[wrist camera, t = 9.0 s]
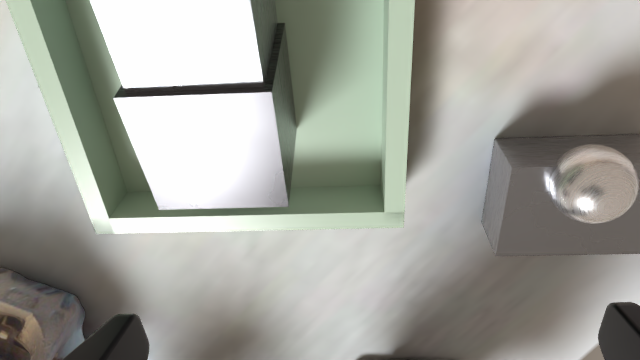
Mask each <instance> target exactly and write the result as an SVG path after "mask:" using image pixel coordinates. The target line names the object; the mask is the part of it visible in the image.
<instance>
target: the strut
mask: <svg viewBox="0 0 640 360" xmlns="http://www.w3.org/2000/svg"><path fill="white" fill-rule="evenodd" d="M90 2H91V4H92V7H93V10H94V12H95V15H96V17H97V20H98V23H99V25H100V28H101V30H102V33H103V35H104V38H105V41H106V43H107V46H108V48H109V51H110V54H111V56H112V59H113V61H114V64H115V67H116V69H117V72H118V74H119V77H120V79H121V82H122V85H121V87H120V88H119V90H118V92H117V93H116V95H115V96H114V98H113V99H114V101H115V104H116V106H117V109H118V111H119V113H120V116H121V118H122V121H123V123H124V126H125V128H126V130H127V133H128V135H129V138H130V140H131V143H132V145H133V147H134V150H135V152H136V155H137V157H138V160H139V162H140V165H141V167H142V169H143V172H144V174H145V177H146V179H147V182H148V184H149V186H150V189H151V191H152V194H153V196H154V199H155V201H156V203H157V206H158V208H159V210H173V209H215V208H257V207H289V199H290V189H291V180H292V170H293V161H294V151H295V142H296V132H297V125H296V116H295V107H294V98H293V90H292V81H291V72H290V63H289V54H288V46H287V37H286V28H285V23H278V21H277V13H276V5H275V0H90Z"/></svg>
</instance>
